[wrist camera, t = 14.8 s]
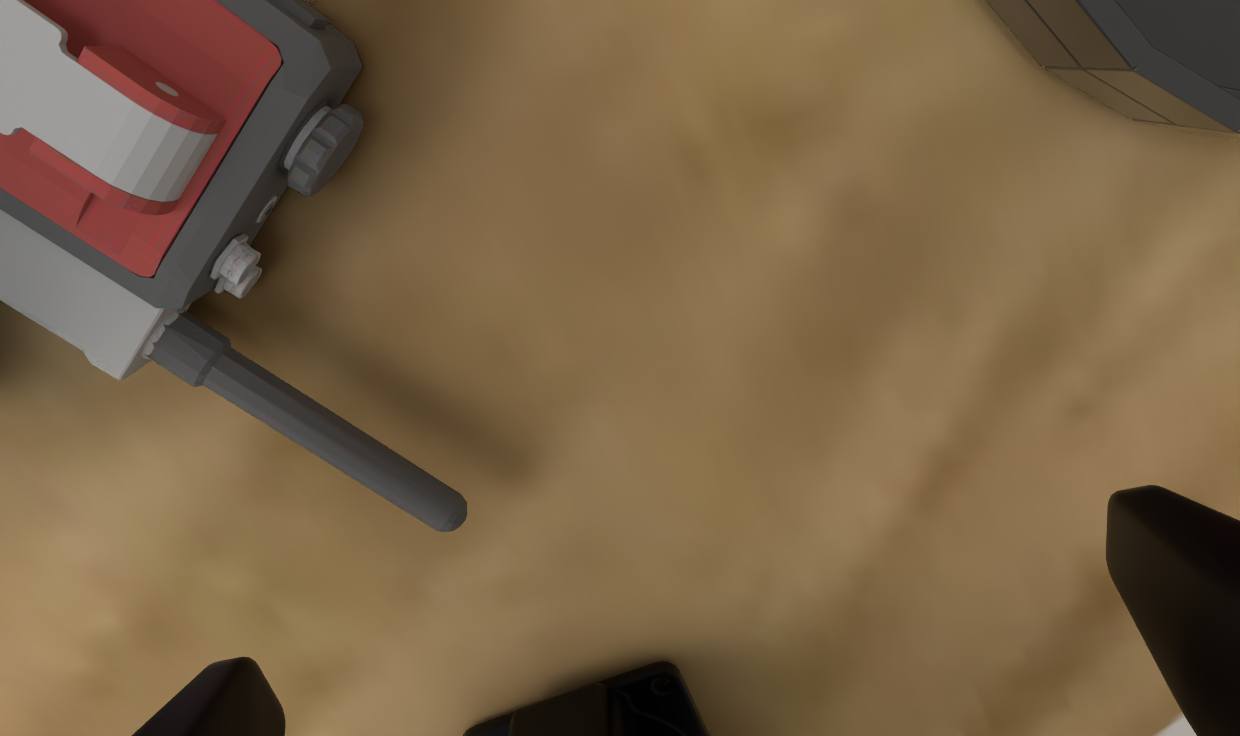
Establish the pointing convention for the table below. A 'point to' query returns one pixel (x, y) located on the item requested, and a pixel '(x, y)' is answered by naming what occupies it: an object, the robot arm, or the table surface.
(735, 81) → the table surface
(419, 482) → the walkie-talkie
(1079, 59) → the pan
